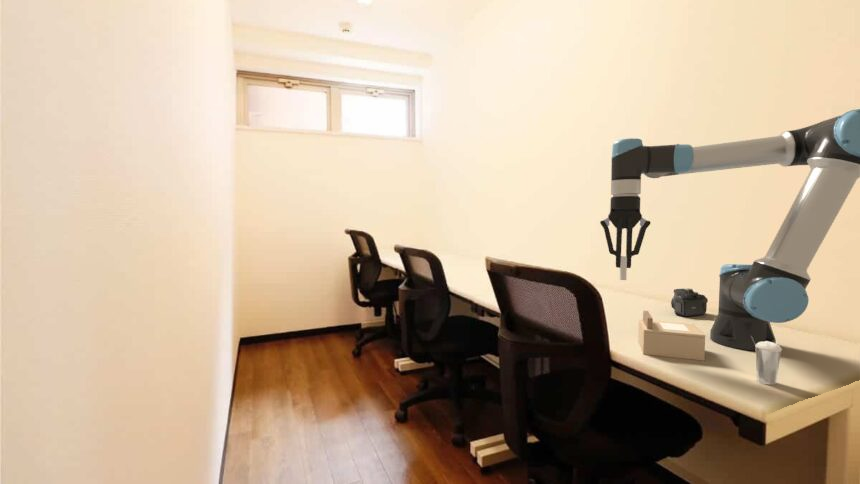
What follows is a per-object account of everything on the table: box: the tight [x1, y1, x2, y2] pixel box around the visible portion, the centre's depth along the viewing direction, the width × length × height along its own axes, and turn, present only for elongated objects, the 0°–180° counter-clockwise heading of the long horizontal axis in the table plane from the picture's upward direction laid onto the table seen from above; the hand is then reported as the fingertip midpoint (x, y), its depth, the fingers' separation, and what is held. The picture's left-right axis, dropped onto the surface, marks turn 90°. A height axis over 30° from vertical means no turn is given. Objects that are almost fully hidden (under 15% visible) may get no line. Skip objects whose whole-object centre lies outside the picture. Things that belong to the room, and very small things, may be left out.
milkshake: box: [751, 336, 783, 386], centre depth 90 cm, size 4×5×10 cm
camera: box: [670, 288, 709, 317], centre depth 150 cm, size 13×10×10 cm
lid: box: [638, 310, 706, 338], centre depth 111 cm, size 14×11×4 cm
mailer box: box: [637, 322, 706, 361], centre depth 111 cm, size 14×11×6 cm
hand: (622, 279), depth 114 cm, fingers closed
